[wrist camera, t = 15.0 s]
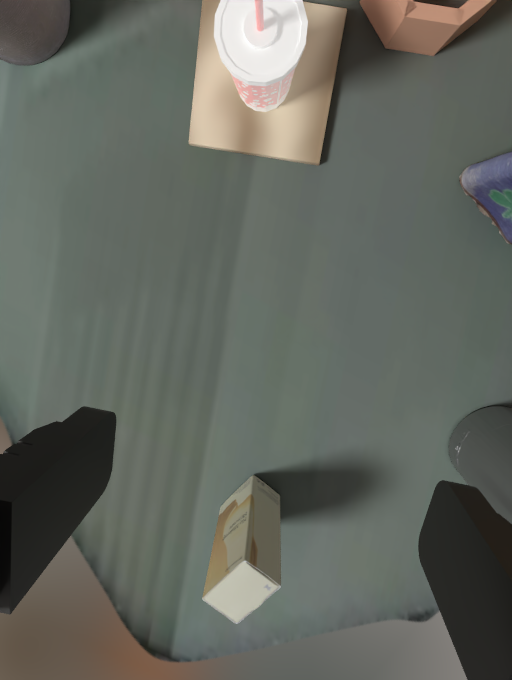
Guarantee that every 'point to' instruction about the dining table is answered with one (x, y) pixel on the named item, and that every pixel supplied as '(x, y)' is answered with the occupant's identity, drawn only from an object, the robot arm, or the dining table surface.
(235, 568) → the skincare box
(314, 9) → the wooden coaster
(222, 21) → the beverage cup
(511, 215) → the flask
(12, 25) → the pillar candle
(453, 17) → the ceramic ring
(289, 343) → the dining table surface
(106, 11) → the dining table surface
